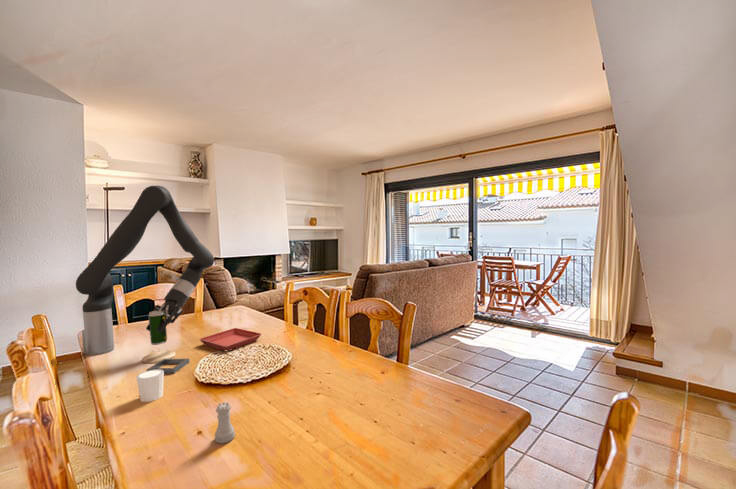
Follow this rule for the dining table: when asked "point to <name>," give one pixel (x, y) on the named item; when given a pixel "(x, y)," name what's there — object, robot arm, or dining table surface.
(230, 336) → the plant saucer
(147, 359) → the coaster
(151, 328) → the beer can
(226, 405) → the rook chess piece
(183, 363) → the collar
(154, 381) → the white tapered cylinder
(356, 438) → the dining table surface
